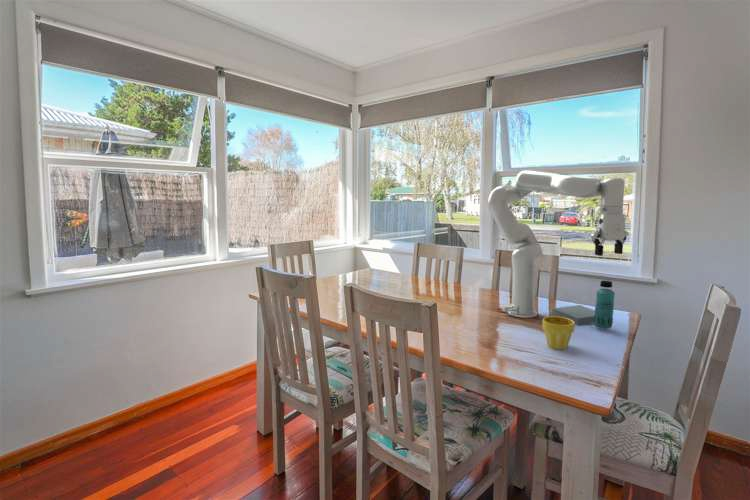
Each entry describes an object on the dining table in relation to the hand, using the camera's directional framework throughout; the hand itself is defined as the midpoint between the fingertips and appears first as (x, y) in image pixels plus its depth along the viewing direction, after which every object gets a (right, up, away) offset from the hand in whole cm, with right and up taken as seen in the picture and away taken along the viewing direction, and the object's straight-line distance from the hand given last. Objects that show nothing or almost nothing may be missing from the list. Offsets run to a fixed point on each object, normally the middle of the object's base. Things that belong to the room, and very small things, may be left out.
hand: (608, 254), depth 156 cm
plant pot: (-25, -33, -11) cm, 43 cm away
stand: (-2, -28, +19) cm, 34 cm away
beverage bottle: (0, -31, +4) cm, 31 cm away
